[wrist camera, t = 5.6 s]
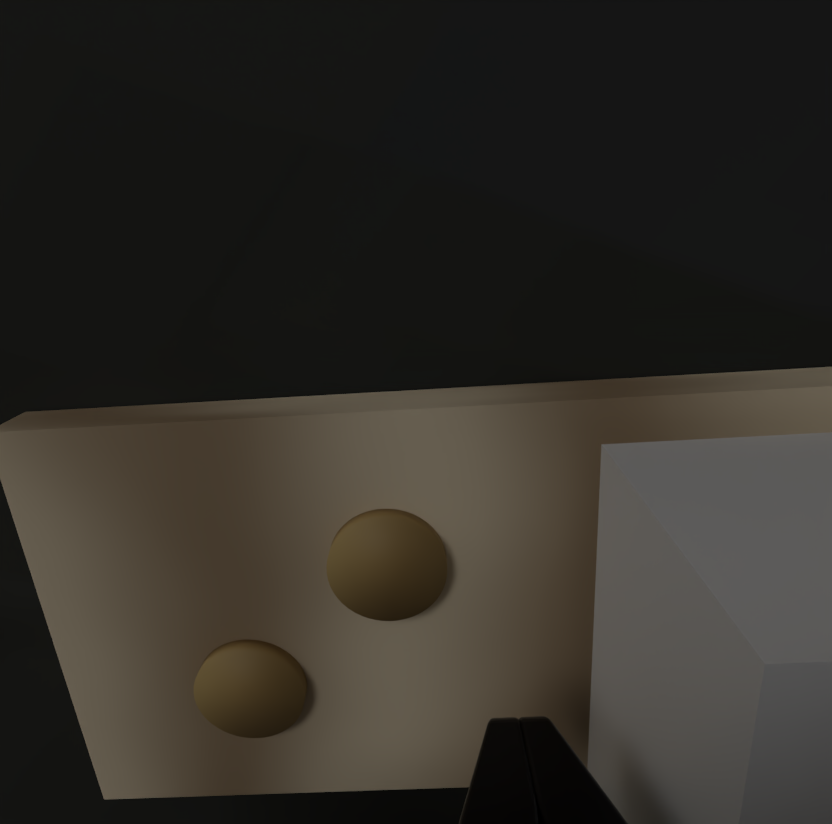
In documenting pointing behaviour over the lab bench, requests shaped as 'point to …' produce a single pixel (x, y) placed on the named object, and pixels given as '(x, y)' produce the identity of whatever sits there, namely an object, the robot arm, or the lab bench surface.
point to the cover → (714, 631)
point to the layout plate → (340, 569)
